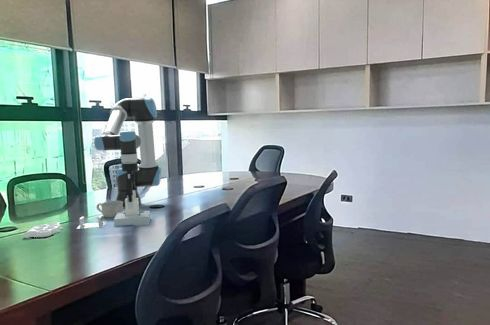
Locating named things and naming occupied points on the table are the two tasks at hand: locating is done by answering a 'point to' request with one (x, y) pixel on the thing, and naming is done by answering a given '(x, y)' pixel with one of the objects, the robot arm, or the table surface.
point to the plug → (135, 210)
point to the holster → (91, 225)
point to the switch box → (132, 219)
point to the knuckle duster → (43, 230)
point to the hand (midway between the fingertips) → (132, 205)
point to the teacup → (111, 208)
